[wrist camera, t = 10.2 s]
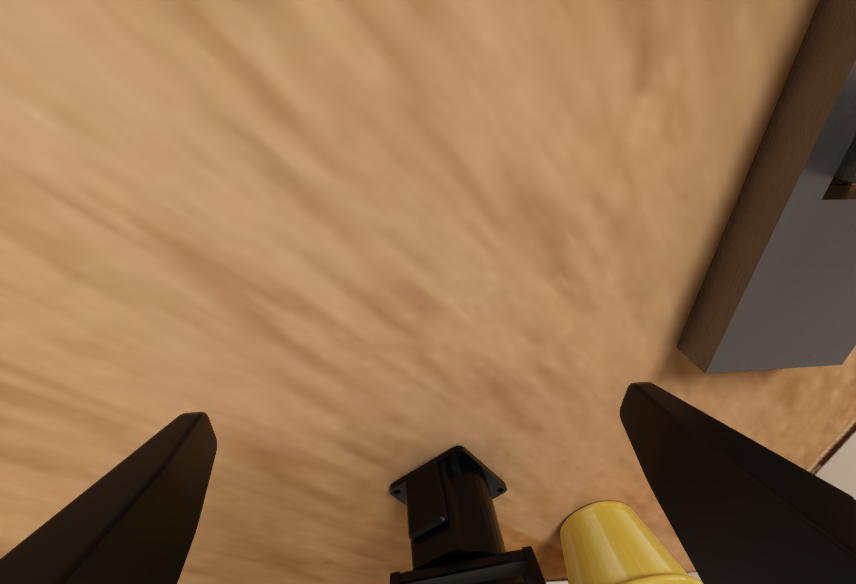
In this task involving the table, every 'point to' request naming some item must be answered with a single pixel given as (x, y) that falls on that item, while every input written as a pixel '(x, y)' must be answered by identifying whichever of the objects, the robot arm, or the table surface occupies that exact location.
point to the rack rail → (790, 225)
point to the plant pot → (616, 549)
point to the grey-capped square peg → (848, 164)
